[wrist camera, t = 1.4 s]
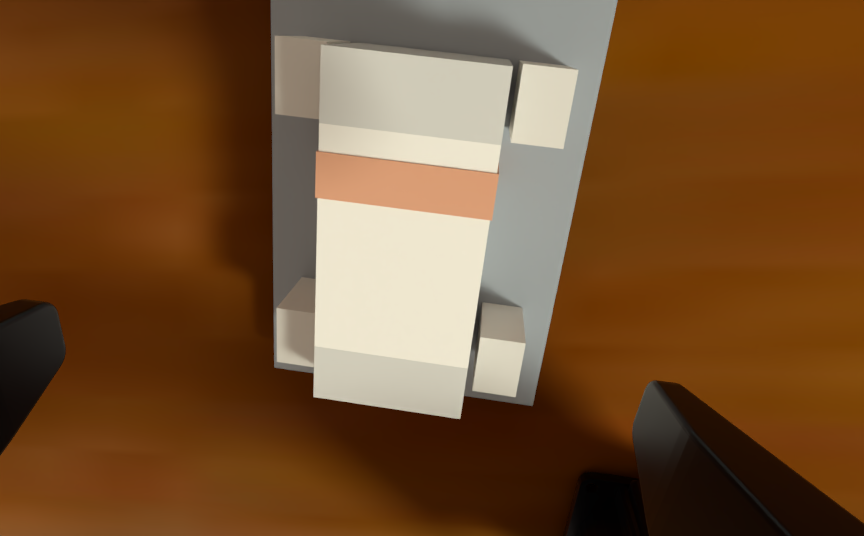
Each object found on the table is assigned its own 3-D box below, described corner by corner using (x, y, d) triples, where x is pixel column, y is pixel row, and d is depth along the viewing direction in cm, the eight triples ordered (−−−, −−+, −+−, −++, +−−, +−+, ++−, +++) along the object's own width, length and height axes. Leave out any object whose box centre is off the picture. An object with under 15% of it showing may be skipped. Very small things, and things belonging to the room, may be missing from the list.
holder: (530, 383, 22) (537, 451, 19) (287, 347, 23) (247, 406, 19) (608, -3, 17) (640, -14, 13) (288, -36, 18) (232, -56, 14)
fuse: (468, 349, 20) (461, 420, 17) (345, 331, 21) (311, 397, 17) (511, 59, 16) (515, 66, 13) (358, 42, 17) (318, 44, 13)
